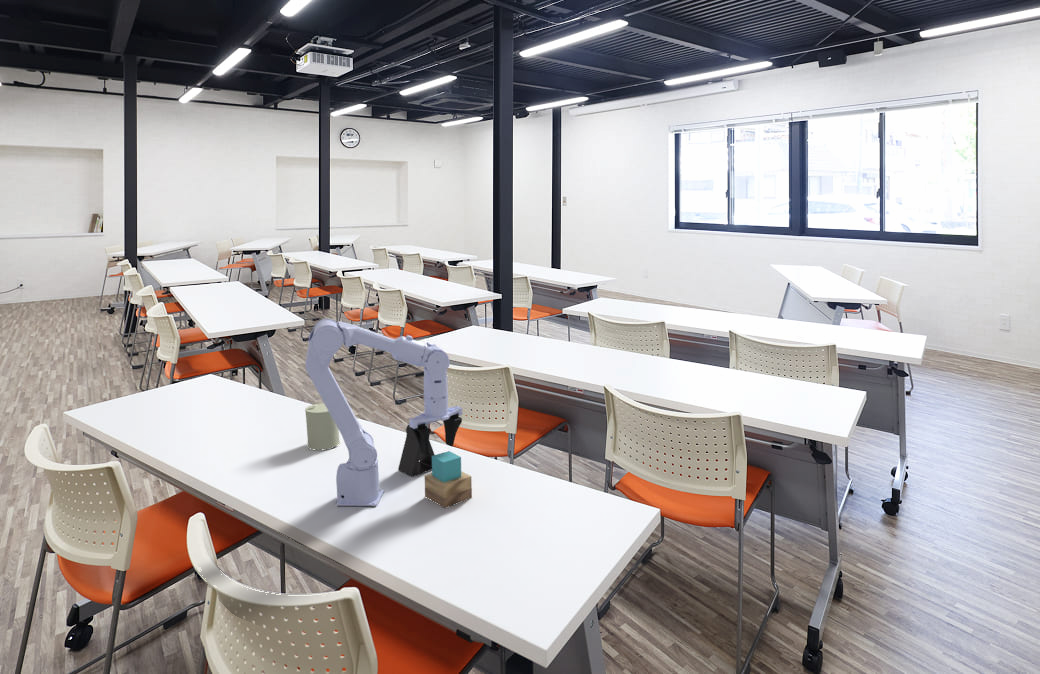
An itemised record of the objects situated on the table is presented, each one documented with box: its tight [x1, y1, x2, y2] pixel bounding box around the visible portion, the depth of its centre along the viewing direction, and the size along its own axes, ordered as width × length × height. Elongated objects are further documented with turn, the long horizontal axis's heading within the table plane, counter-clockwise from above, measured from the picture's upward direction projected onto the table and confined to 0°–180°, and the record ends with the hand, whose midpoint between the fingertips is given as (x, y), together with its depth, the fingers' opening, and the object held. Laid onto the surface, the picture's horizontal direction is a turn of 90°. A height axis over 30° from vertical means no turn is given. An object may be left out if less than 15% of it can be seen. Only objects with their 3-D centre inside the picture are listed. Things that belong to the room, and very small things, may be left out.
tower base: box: [424, 486, 473, 509], centre depth 149 cm, size 8×8×3 cm
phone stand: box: [397, 424, 436, 477], centre depth 165 cm, size 9×6×12 cm, turn 135°
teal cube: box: [431, 450, 462, 482], centre depth 147 cm, size 5×5×5 cm
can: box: [304, 402, 341, 451], centre depth 182 cm, size 9×9×12 cm
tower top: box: [424, 470, 473, 498], centre depth 148 cm, size 8×8×3 cm
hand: (437, 449), depth 152 cm, fingers open, 7 cm apart
